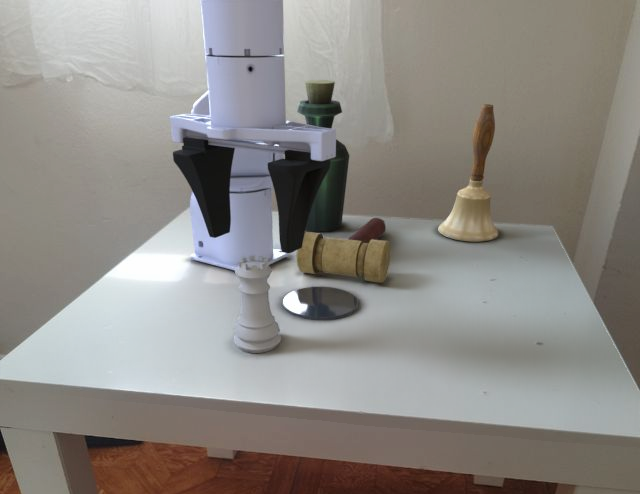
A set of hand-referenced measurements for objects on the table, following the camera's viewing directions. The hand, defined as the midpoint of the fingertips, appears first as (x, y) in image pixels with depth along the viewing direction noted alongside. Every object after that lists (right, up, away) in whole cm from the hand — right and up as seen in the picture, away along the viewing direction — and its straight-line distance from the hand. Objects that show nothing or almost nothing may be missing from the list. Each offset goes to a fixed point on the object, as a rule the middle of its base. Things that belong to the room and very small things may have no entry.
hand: (254, 242), depth 52 cm
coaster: (+6, -3, +13) cm, 14 cm away
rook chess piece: (0, -8, +6) cm, 10 cm away
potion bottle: (+5, +13, +36) cm, 38 cm away
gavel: (+11, +6, +26) cm, 29 cm away
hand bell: (+26, +11, +34) cm, 44 cm away
